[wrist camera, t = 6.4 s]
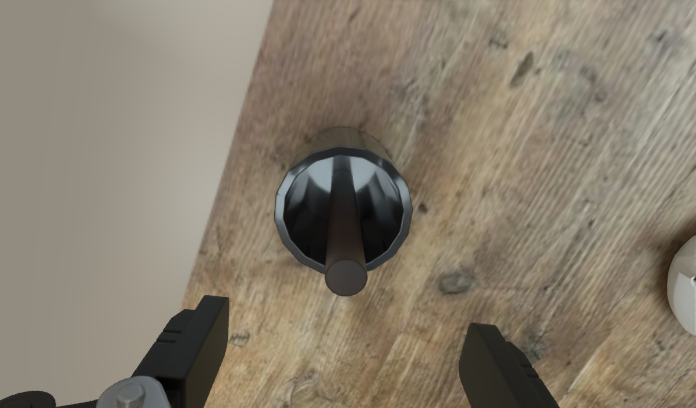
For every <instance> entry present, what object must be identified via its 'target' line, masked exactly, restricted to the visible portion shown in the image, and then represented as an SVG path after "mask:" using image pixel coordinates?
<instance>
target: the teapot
mask: <svg viewBox="0 0 696 408" xmlns="http://www.w3.org/2000/svg"><path fill="white" fill-rule="evenodd" d="M667 295H668V301H669V304H670V307H671V309H672V311H673V313H674V315H675V317H676V318H677V320H678V321H679V322H680V324H681V325H682V326H683V328H684V329H685V330H686V331H688V332H689V333H691V334H693V335H694V336H696V235H694V236H693V237H692V238H690V239H689V240H688V241H687V242H686V243H685V244H684V245H683V246H682V247H681V248H680V249H679V251H678V252H677V253H676V254H674V258H673V260H672V262H671V265H670V268H669V272H668V282H667Z"/></svg>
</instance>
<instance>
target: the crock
mask: <svg viewBox="0 0 696 408" xmlns="http://www.w3.org/2000/svg"><path fill="white" fill-rule="evenodd" d="M338 170H347V171H348V172H350V173H351V174H352V176H353V181H354V187H355V194H356V201H357V208H358V215H359V221H360V228H361V235H362V242H363V248H364V255H365V262H366V269H367V271H371V270H374V269H375V268H377V267H378V266H380V265H381V264H383V263H384V262H386V261H387V260H389V259H390V258H391V257H393V256H394V255H395V254H396V252H397V251H398V249H399V248H400V246H401V245H402V243H403V242H404V240H405V239H406V237H407V236H408V234H409V229H410V224H411V219H412V213H413V206H412V202H411V197H410V193H409V188H408V185H407V183H406V181H405V180H404V178H403V176H402V175H401V173H400V172H399V170H398V169H397V167H396V165H395V164H394V162H393V161H392V159H391V158H390V156H389V155H388V153H387V152H386V151H385V149H384V148H383V147H382V145H381V144H380V143H379V141H378V140H376V139H375V138H374V137H372V136H371V135H369V134H368V133H366V132H364V131H361V130H358V129H355V128H350V127H334V128H329V129H326V130H323V131H321V132H319V133H317V134H315V135H313V136H312V137H311V138H309V139H308V140H307V141H306V142H305V143H304V144H303V145H302V146H301V147H300V149H299V151H298V153H297V154H296V156H295V158H294V160H293V162H292V164H291V166H290V168H289V169H288V171H287V173H286V175H285V177H284V179H283V181H282V183H281V185H280V187H279V188H278V190H277V192H276V199H275V212H274V221H275V224H276V226H277V229H278V232H279V235H280V238H281V241H282V243H283V244H284V246H285V247H286V248H287V249H288V250H289V251H290V252H291V253H292V254H293V255H294V257H295V258H296V259H297V260H298V261H299V262H300V263H302V264H304V265H306V266H308V267H310V268H312V269H314V270H316V271H318V272H320V273H323V274H325V267H326V252H327V236H328V221H329V206H330V190H331V178H332V175H333V174H334V173H335V172H336V171H338Z"/></svg>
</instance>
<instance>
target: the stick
mask: <svg viewBox="0 0 696 408" xmlns="http://www.w3.org/2000/svg"><path fill="white" fill-rule="evenodd" d="M325 282H326V285H327V286H328V288H329V289H330V290H331V291H332V292H333V293H335V294H337V295H340V296H352V295H355V294H357V293H359V292H360V291H361V290H362V289H363V288H364V287H365V285H366V283H367V269H366V262H365V255H364V248H363V242H362V235H361V228H360V221H359V215H358V208H357V201H356V194H355V187H354V181H353V176H352V174H351V173H350V172H348V171H347V170H338V171H336V172H335V173H334V174H333V175H332V178H331V190H330V206H329V221H328V236H327V252H326V267H325Z"/></svg>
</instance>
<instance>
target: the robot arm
mask: <svg viewBox="0 0 696 408" xmlns="http://www.w3.org/2000/svg"><path fill="white" fill-rule="evenodd" d="M228 326H229V298H228V297H220V296H210V295H205V296H204V297H203V298H202V300H201V301H200V303H199V305H198V306H197V308H196V309H195V310H189V309H184V310H183V311H181V312H180V313H178V314H177V315H176V316H174V317H172V318H171V320H170V321H169V322H168V324H167V325H166V327H165V328H164V330H163V332H162V333H161V334H160V335H159V337H158V338H157V341H156V342H155V343H154V344H153V345H152V347H151V348H150V350H149V351H148V353H147V354H146V356H145V357H144V358H143V360H142V362H141V363H140V364H139V366H138V367H137V369H136V370H135V371H134V373H133V374H132V376H131V377H130V378H127V379H123V380H121V381H119V382H117V383H115V384H113V385H112V386H110V387H109V388H108V389H106V390H105V391H104V392H103V394H102V395H101V396H100V397H99V399H97V400H94V401H90V402H84V403H78V404H73V405H66V406H60V407H56V403H55V399H54V397H53V396H52V395H51V394H49V393H47V392H43V391H28V392H23V393H18V394H15V395H12V396H9V397H7V398H5V399H2V400H0V408H203V407H204V405H205V403H206V400H207V398H208V395H209V393H210V390H211V388H212V385H213V383H214V380H215V378H216V376H217V373H218V371H219V368H220V366H221V363H222V361H223V358H224V356H225V352H226V348H227V342H228ZM459 376H460V380H461V383H462V385H463V388H464V390H465V393H466V395H467V398H468V400H469V403H470V405H471V408H560V407H559V406H558V404H557V403H556V401H555V400H554V398H553V397H552V395H551V394H550V392H549V391H548V389H547V388H546V386H545V385H544V383H543V382H542V380H541V379H539V376H538V374H537V373H536V371H535V369H534V368H532V365H531V363H530V362H529V360H528V359H527V357H526V356H525V354H524V353H523V352H522V351H520V350H519V349H518V348H517V347H516V346H515V345H514V344H512V343H511V342H506V341H505V339H504V338H503V336H502V335H501V333H500V331H499V330H498V328H497V327H496V326H495V325H490V324H480V323H471V324H470V325H469V327H468V331H467V334H466V338H465V342H464V345H463V349H462V353H461V356H460V360H459Z"/></svg>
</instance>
